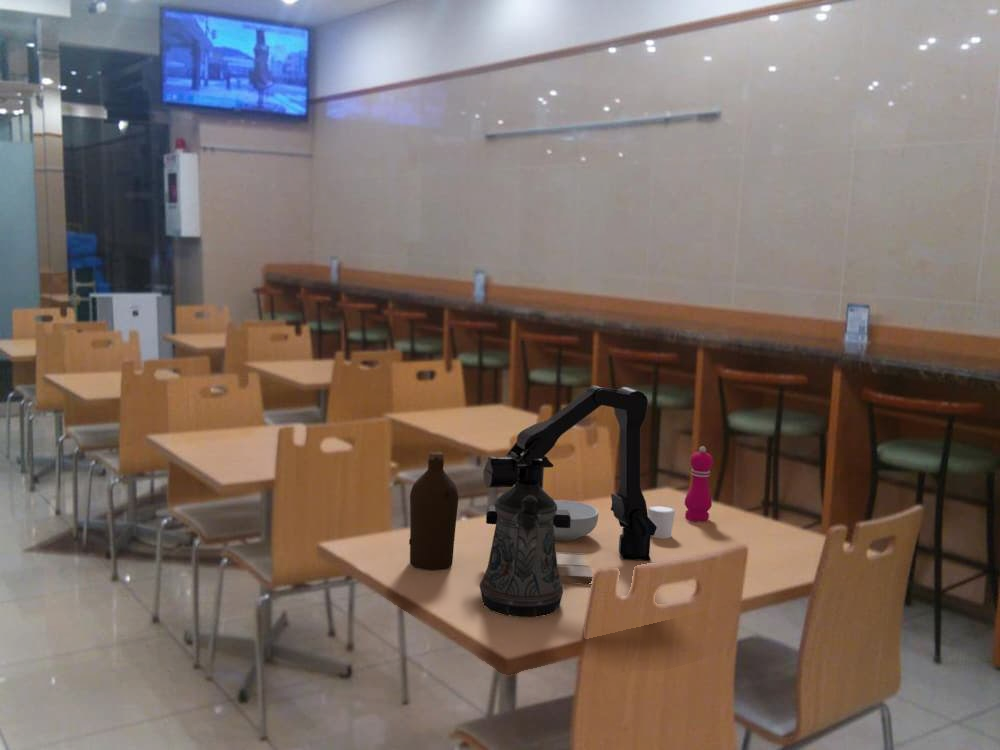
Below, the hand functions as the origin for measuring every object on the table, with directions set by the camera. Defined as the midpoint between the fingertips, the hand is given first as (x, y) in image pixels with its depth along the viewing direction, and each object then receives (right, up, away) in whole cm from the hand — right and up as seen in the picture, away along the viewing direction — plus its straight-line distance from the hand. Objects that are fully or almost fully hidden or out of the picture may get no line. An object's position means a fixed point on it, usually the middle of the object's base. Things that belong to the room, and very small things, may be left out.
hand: (525, 554), depth 226 cm
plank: (+5, -2, -1) cm, 5 cm away
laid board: (+5, -3, -8) cm, 10 cm away
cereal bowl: (+10, 0, +23) cm, 25 cm away
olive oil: (-21, -2, -4) cm, 22 cm away
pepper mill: (+48, +1, +46) cm, 66 cm away
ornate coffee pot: (-1, -6, -26) cm, 27 cm away
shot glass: (+35, -1, +28) cm, 45 cm away
